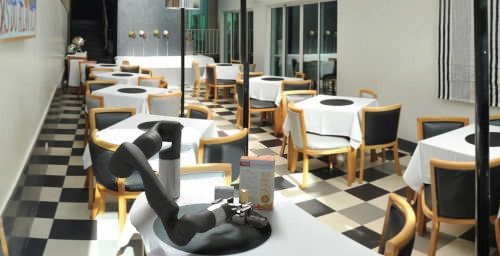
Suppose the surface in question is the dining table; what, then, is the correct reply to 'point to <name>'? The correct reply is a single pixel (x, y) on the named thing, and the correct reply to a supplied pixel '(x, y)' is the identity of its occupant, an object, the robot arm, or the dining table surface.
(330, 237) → the dining table surface
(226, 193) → the medicine box
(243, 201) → the link pin
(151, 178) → the robot arm
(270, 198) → the cracker box
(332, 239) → the dining table surface
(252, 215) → the chain right
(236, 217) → the link seat
